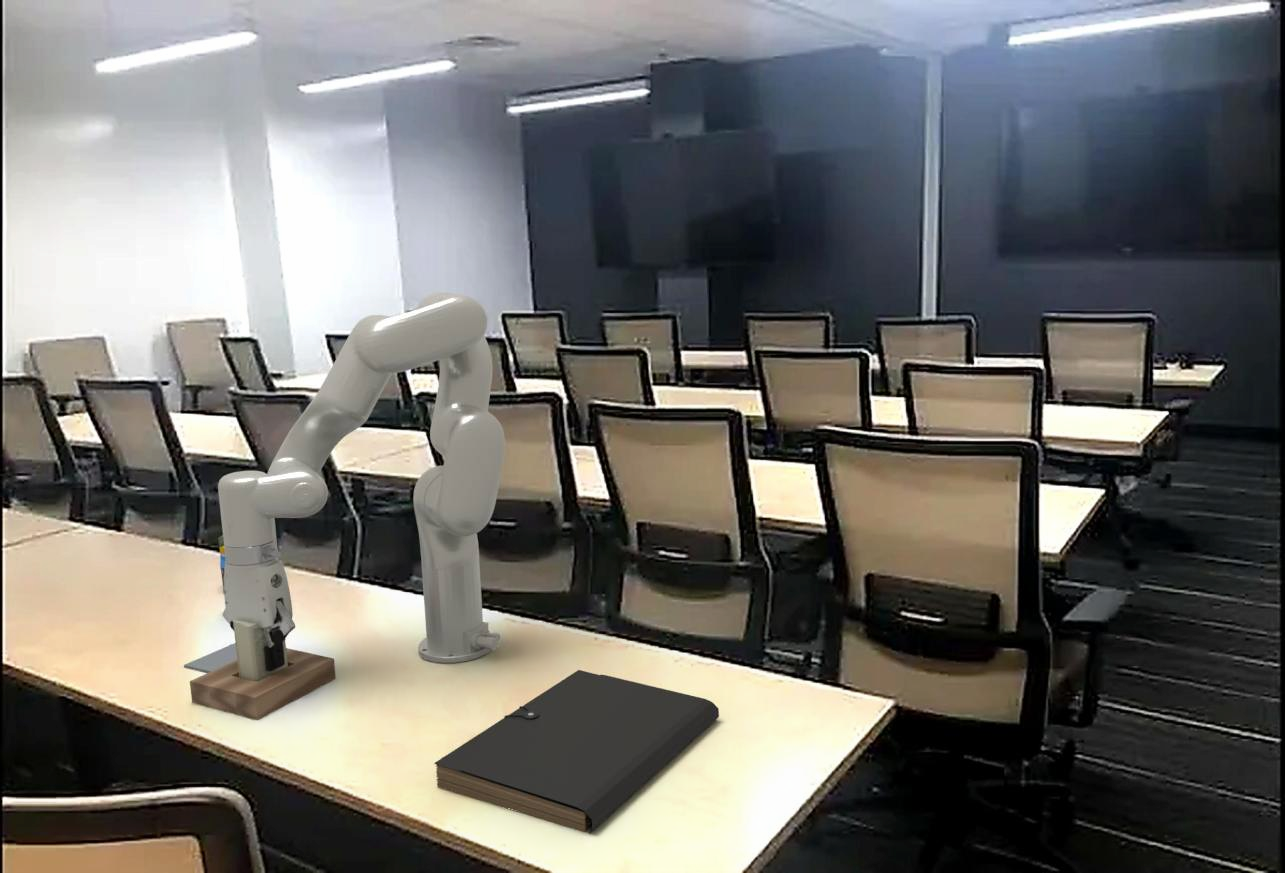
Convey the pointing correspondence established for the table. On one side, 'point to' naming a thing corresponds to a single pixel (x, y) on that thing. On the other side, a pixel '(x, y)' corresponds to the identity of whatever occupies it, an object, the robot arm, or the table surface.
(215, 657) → the slate mat
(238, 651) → the skincare box
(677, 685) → the table surface
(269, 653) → the robot arm
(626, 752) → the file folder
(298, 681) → the pocket block
